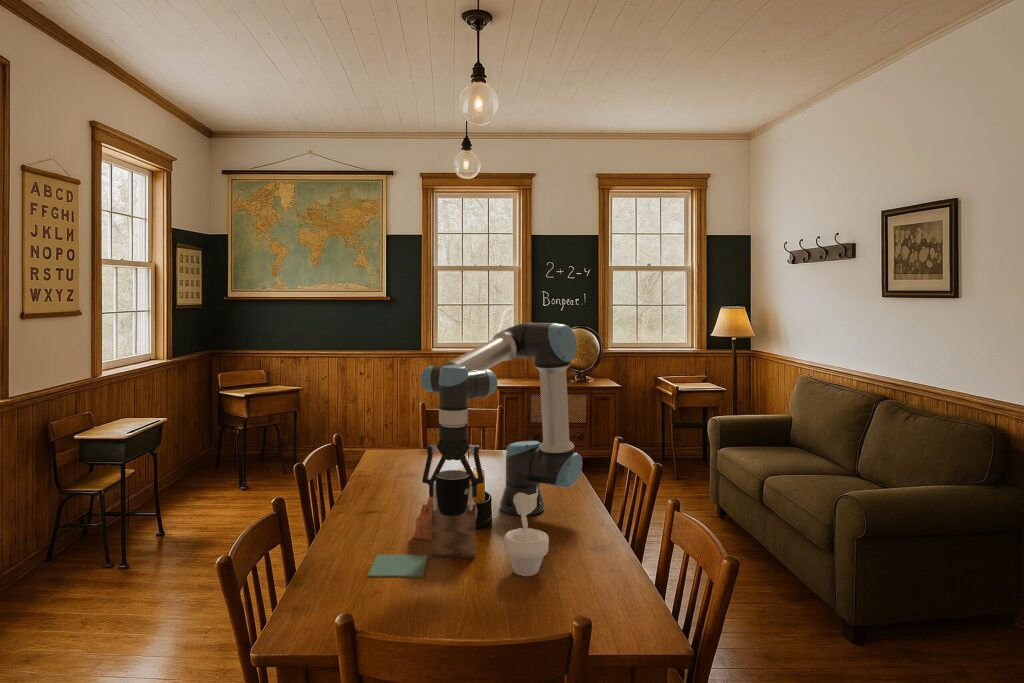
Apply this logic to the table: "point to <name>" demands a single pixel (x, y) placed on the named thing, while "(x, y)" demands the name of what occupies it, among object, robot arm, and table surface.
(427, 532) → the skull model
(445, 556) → the walnut board
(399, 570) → the felt pad
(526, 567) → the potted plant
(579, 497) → the table surface
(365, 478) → the table surface
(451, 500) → the mug
